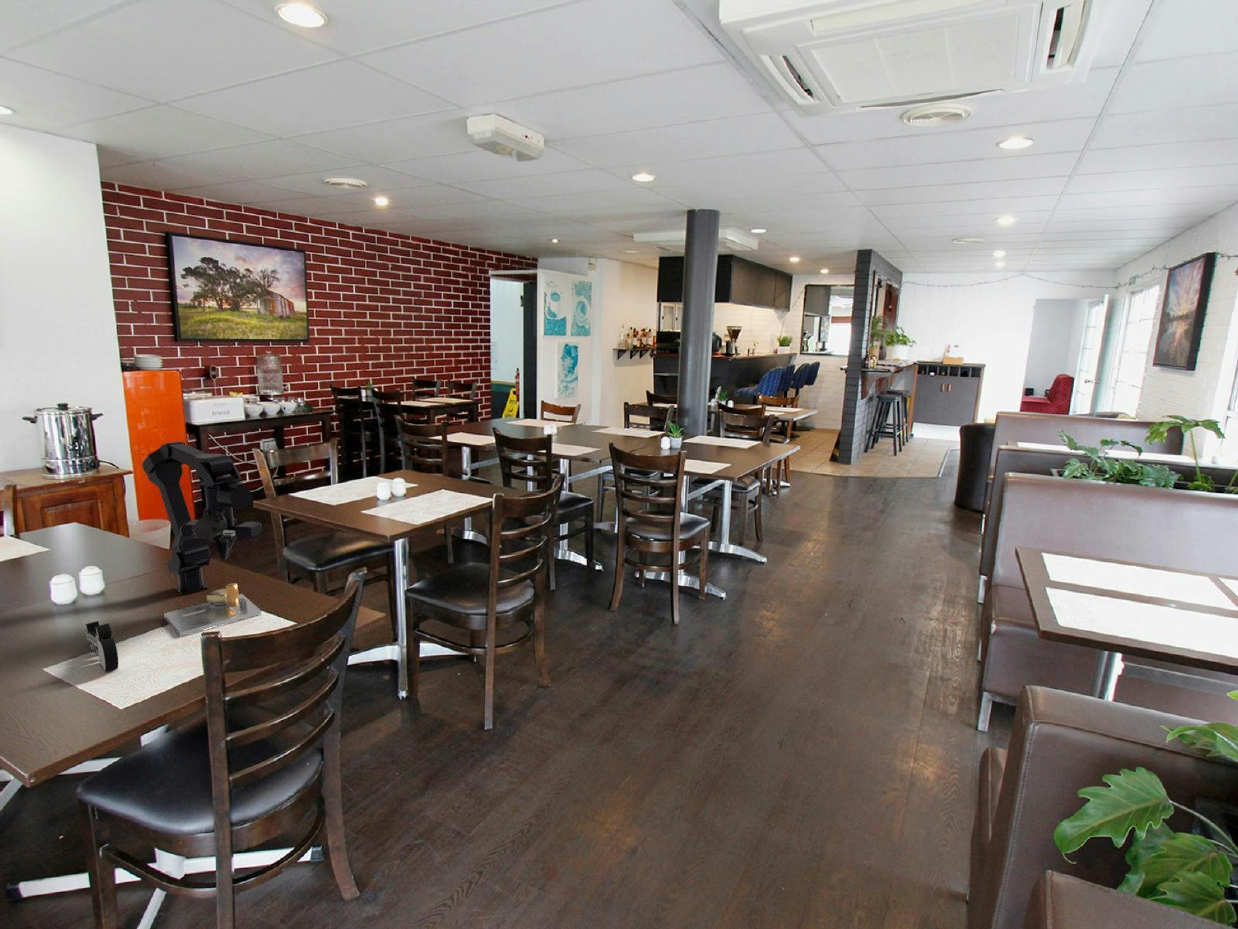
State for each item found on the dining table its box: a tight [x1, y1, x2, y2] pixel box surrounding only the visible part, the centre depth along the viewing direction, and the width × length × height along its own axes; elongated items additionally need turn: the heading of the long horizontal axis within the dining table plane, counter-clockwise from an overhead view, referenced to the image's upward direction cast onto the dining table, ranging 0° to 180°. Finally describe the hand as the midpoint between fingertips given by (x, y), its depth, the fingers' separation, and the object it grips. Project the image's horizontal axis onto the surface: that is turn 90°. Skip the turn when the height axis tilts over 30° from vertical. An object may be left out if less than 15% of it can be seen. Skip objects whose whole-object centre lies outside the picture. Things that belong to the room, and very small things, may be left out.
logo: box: [85, 620, 119, 672], centre depth 144 cm, size 21×2×10 cm, turn 48°
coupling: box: [206, 582, 240, 607], centre depth 166 cm, size 12×6×6 cm, turn 51°
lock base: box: [163, 593, 262, 638], centre depth 165 cm, size 15×18×4 cm
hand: (224, 559), depth 172 cm, fingers closed
